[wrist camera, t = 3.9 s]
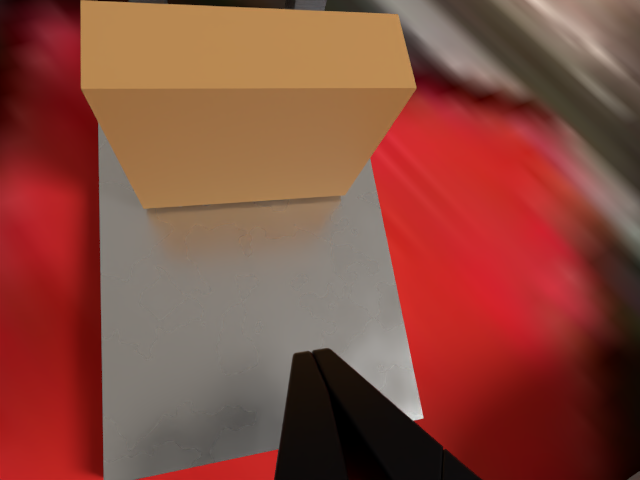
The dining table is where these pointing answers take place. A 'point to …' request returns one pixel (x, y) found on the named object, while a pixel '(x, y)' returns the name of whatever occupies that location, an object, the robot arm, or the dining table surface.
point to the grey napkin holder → (635, 476)
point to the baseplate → (235, 315)
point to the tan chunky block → (241, 97)
